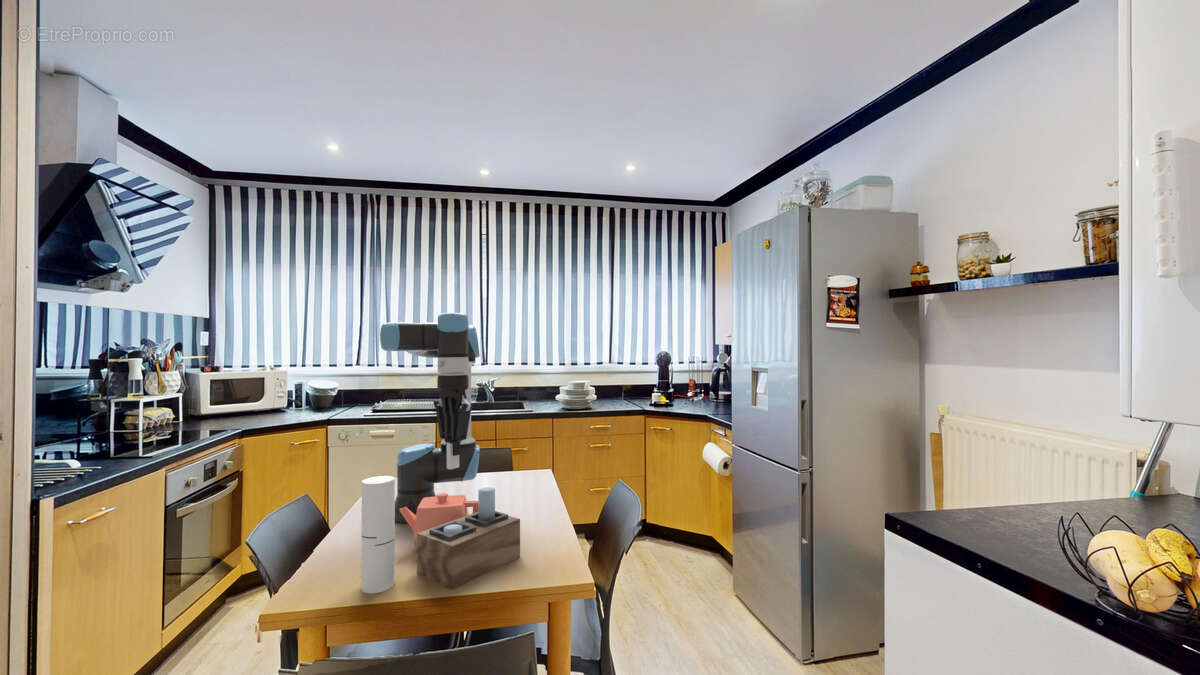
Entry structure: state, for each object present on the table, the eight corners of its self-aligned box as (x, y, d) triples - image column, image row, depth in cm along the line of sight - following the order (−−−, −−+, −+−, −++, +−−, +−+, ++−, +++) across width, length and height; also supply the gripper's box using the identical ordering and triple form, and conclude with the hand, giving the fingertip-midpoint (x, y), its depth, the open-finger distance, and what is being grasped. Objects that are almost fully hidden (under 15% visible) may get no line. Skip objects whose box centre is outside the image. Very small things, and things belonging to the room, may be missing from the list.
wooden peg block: (416, 573, 121) (416, 529, 121) (485, 544, 139) (485, 505, 139) (452, 589, 113) (452, 541, 113) (520, 556, 131) (520, 515, 131)
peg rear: (474, 524, 130) (474, 490, 130) (487, 519, 134) (487, 486, 134) (486, 527, 128) (485, 493, 128) (498, 522, 131) (498, 489, 131)
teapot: (394, 556, 132) (395, 503, 132) (404, 538, 144) (404, 490, 144) (478, 549, 136) (478, 498, 136) (480, 532, 148) (480, 486, 148)
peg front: (440, 564, 121) (440, 528, 121) (454, 558, 125) (454, 523, 125) (451, 569, 119) (451, 532, 119) (465, 562, 122) (465, 526, 122)
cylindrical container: (368, 579, 118) (368, 476, 119) (398, 578, 119) (398, 475, 119) (356, 594, 111) (356, 484, 112) (388, 592, 112) (388, 483, 112)
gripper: (424, 374, 124) (424, 467, 123) (457, 375, 116) (457, 475, 115) (449, 372, 130) (449, 461, 129) (481, 374, 122) (482, 468, 122)
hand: (453, 467), depth 122 cm, fingers closed
